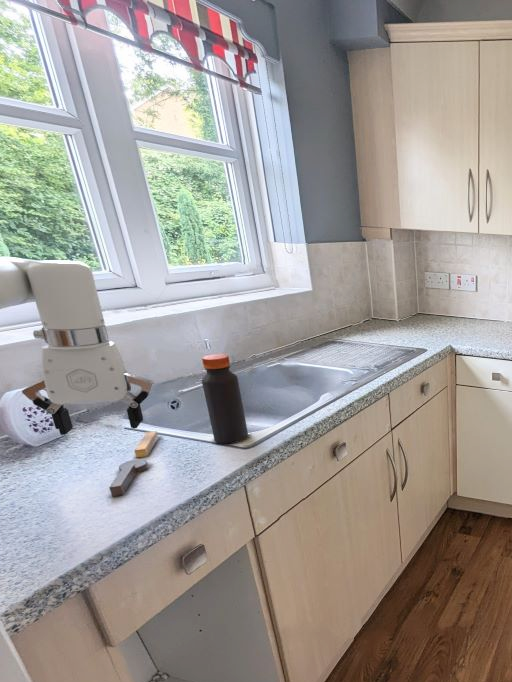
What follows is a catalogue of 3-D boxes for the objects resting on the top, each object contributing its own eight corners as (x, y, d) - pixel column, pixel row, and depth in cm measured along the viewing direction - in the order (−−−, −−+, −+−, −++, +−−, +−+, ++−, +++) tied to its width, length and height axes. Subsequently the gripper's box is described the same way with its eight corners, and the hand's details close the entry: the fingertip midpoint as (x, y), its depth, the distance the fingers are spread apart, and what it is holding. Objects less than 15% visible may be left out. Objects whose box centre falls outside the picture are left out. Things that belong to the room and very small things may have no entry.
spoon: (132, 493, 84) (130, 484, 83) (102, 498, 82) (99, 488, 81) (151, 462, 95) (148, 454, 94) (124, 466, 93) (121, 457, 92)
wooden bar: (147, 456, 97) (145, 448, 97) (136, 457, 96) (134, 450, 96) (158, 437, 106) (156, 430, 105) (148, 439, 105) (146, 432, 104)
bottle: (237, 430, 111) (222, 351, 104) (254, 436, 108) (240, 356, 102) (208, 440, 106) (189, 357, 99) (225, 447, 103) (208, 362, 96)
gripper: (-7, 343, 70) (27, 443, 76) (136, 339, 78) (156, 431, 83) (18, 333, 76) (47, 426, 82) (148, 331, 84) (166, 416, 89)
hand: (102, 428), depth 83 cm, fingers open, 9 cm apart
